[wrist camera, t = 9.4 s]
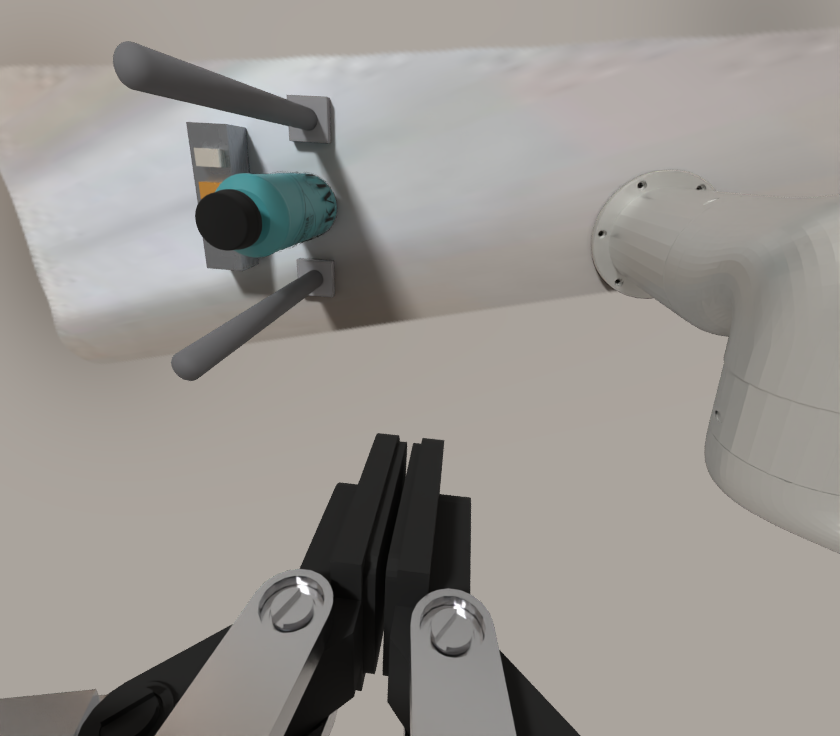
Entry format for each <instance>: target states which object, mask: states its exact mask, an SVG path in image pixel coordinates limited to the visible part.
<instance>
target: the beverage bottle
mask: <svg viewBox="0 0 840 736" xmlns="http://www.w3.org/2000/svg"><path fill="white" fill-rule="evenodd" d="M277 172H278V171H277ZM280 172H283V171H280ZM298 173H299V172H297V173H293V172H292V173H291V172H290V173H286V172H285V173H277V174H250V173H240V174H235V175H232V176H230V177H228V178H227V179H225V180H224V181H223V182H222V183H221V184H220V185H219V186H218V188H217V189H216V191H215V192H214V193H210V194H208V195H206V196H205V197H203V198H202V199H201V200H200V202H199V203H198V205H197V208H196V213H195V219H196V224H197V228H198V230H199V232H200V234H201V235H202V237H203V238H204V239H205V240H206V241H207V242H208V243H209V244H210V245H212V246H213V247H215V248H217V249H220V250H226V251H231V250H234V251H236V252H237V253H239V254H242V255H244V256H248V257H258V258H259V257H265V256H268V255H271V254H273V253H275V252H278V251H279V250H283V249H285V248H288V247H290V246H293V245H294V246H295V244H296V245H297V244H298V243H301V242H304V241H308V240H307V239H309V240H312V237H315V236H317V237H318V235H319V236H320V234H321V235H322V234H323V233H325V232H326V231H327V230H328V231H329V230H330V229H329V228H330V226H331V225H332V224H333V222H334V220H335V217H336V216H337V215H336V210H337V207H336V203H337V202H336V200H335V197H334V194H333V193H334V192H332V190H331V189H330V188H331V187H329V186H328V185H327V184H328V183H327V182H326V181H325V180H324V179H323V180H324V181H323V180H322V179H320V178H319V177H317V176H318V175H317V176H315V175H316V174H315V175H313V174H306V172H305V174H298ZM325 182H326V183H327V184H326V183H325ZM332 226H333V225H332ZM310 238H311V239H310ZM315 238H316V237H315ZM313 239H314V238H313ZM294 246H293V247H294ZM288 249H289V248H288ZM280 252H282V251H280Z"/></svg>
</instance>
